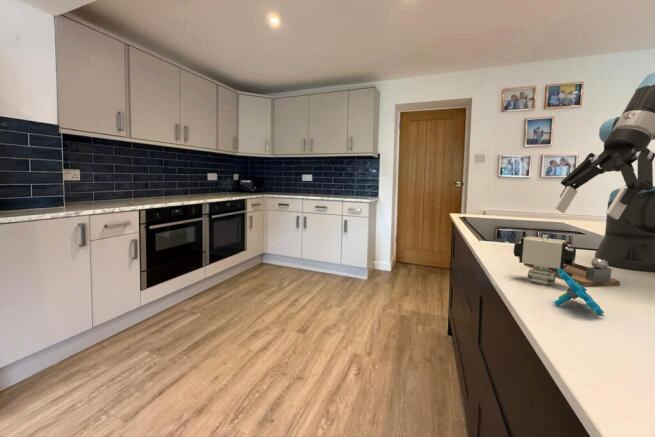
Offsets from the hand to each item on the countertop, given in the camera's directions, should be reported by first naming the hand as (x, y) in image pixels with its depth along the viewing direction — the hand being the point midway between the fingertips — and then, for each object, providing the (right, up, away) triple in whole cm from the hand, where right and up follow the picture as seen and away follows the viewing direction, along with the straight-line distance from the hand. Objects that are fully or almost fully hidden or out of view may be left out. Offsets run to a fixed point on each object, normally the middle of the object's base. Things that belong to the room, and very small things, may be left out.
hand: (583, 213), depth 73 cm
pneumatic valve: (-9, -17, +2) cm, 20 cm away
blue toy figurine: (-13, -19, -14) cm, 27 cm away
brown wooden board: (+2, -16, +8) cm, 18 cm away
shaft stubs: (+2, -15, +8) cm, 17 cm away
